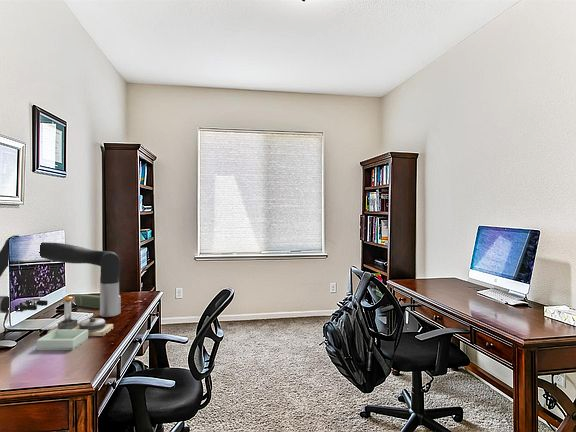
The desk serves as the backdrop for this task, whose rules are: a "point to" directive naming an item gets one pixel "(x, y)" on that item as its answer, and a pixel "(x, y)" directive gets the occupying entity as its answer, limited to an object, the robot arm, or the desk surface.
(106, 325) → the tensioner bracket
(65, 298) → the orange capped tube
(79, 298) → the handheld radio
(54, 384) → the desk surface
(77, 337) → the tray
